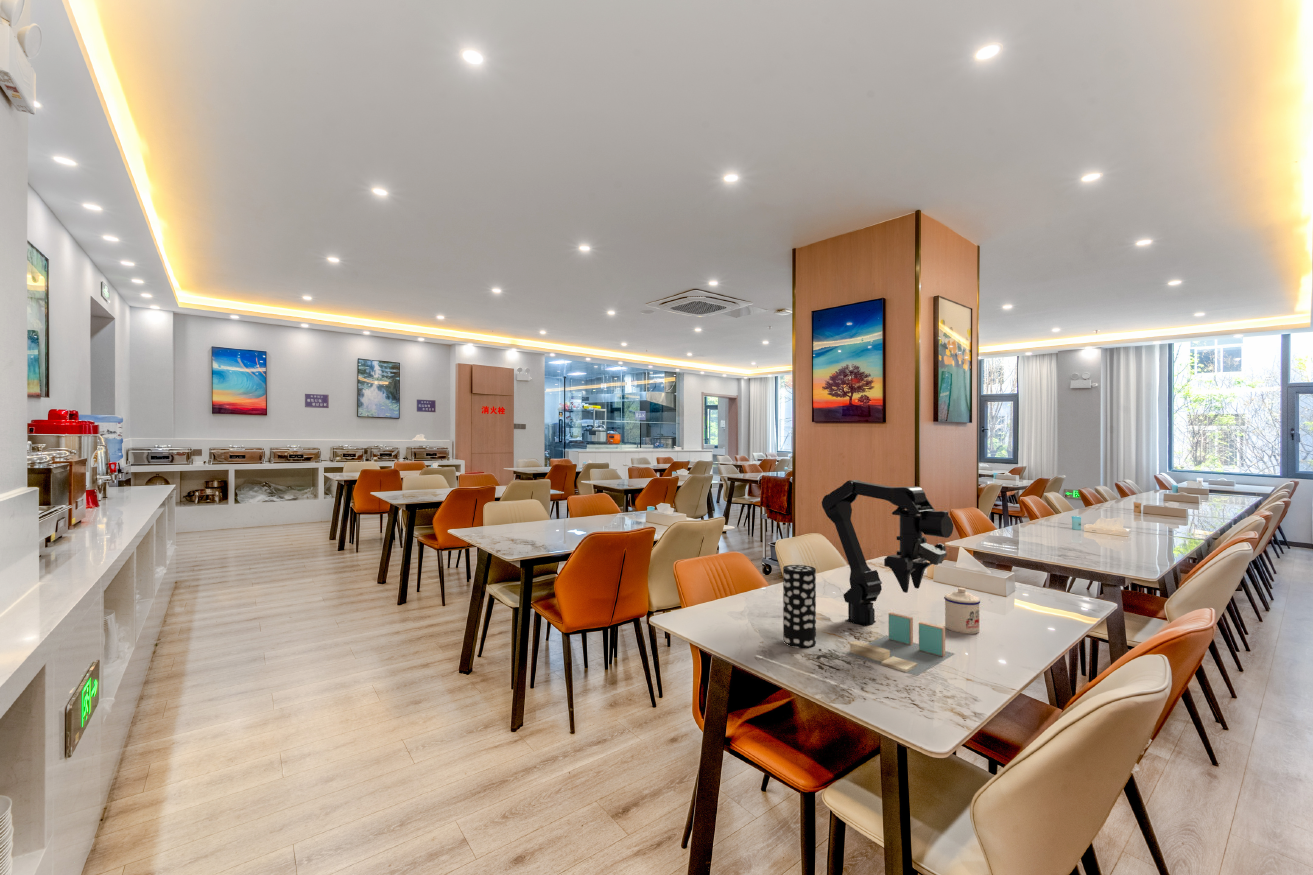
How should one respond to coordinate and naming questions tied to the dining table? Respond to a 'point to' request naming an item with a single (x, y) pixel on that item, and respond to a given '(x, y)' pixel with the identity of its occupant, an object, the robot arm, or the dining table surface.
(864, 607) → the robot arm
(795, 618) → the spotted tube
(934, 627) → the tile right
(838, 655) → the dining table surface
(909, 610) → the dining table surface
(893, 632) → the tile left
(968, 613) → the teacup with lid
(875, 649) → the cream stepped block
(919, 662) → the mat
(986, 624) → the dining table surface
